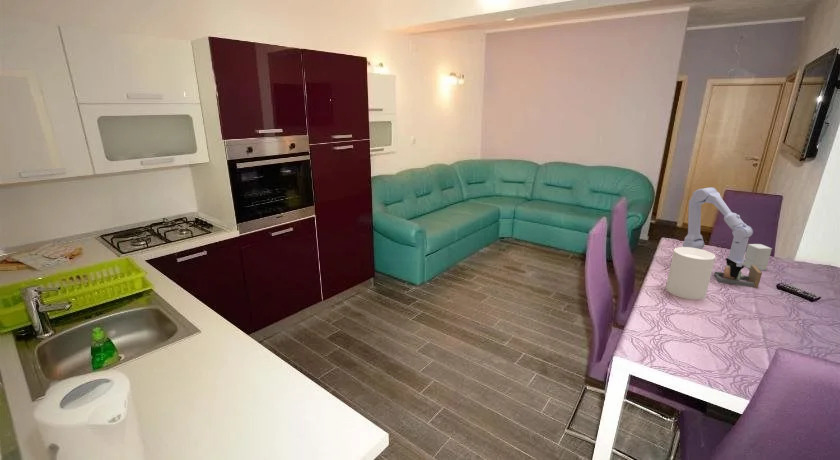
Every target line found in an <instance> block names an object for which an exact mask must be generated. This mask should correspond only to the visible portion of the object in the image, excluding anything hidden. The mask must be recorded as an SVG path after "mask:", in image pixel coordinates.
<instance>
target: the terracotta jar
mask: <svg viewBox="0 0 840 460" xmlns="http://www.w3.org/2000/svg"><path fill="white" fill-rule="evenodd" d="M722 278H726V279H733V280H734V279H735V278H736V277H730V265H727V264H726V266H725V267H724V271H723V277H722Z"/></svg>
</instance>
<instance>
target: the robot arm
mask: <svg viewBox="0 0 840 460" xmlns="http://www.w3.org/2000/svg"><path fill="white" fill-rule="evenodd" d="M705 203H708V204H712V205H714V206H715V208H716V209H717V211H719V212H720V213H721V214H722V215H723V221H724V222H725V224H727V226H728V227H729V229H731V230H732V232H731V233H732V236H733V239H732V243H731V247H730V250H729V253H728V255H727V257H726V258H725V261H726V265H730V277H736V276H737V275H738V273H739V272H740V271H741V270H743V269H744V268H745V266H744V265H743V261H746V259H745V254H746V250H747V246H748V244H749V239H750V237H752V235H753V233H754V230H753V228H752V226H750V225H747V223H745V222H744V221H743V220H742V219H741V215H740V214H738V213H736V212H732V210H731V209H730V208H729V206H728V205H727V203H726V202H725V201H724V199H723V198H722V196H721V194H720V192H719V191H717V189H716V187H713V186H711V187H705V188H698V189H696V190H695V191H693V192H692V195H691V197H690V199H689V201H688V214H687V215H688V219H687V220H688V221H687V225H688V226H687V235H686V236H685V237H684V241H683V243H682V247H691V248H697V249H702V250H703V249H704V247H705V242H704V239H703V235H702V234H701V218H702V217H701V216H702V205H704V204H705Z"/></svg>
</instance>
